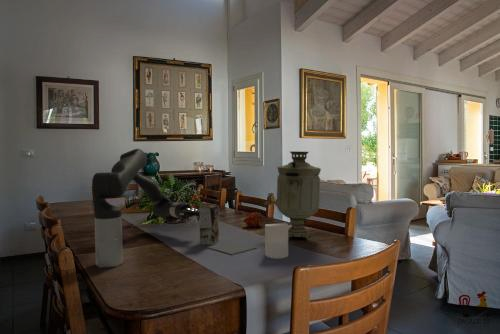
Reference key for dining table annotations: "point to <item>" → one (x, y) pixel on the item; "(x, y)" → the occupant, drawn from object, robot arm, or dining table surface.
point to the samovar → (297, 193)
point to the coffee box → (209, 224)
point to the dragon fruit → (254, 219)
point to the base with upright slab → (276, 240)
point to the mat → (231, 247)
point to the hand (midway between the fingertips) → (202, 214)
